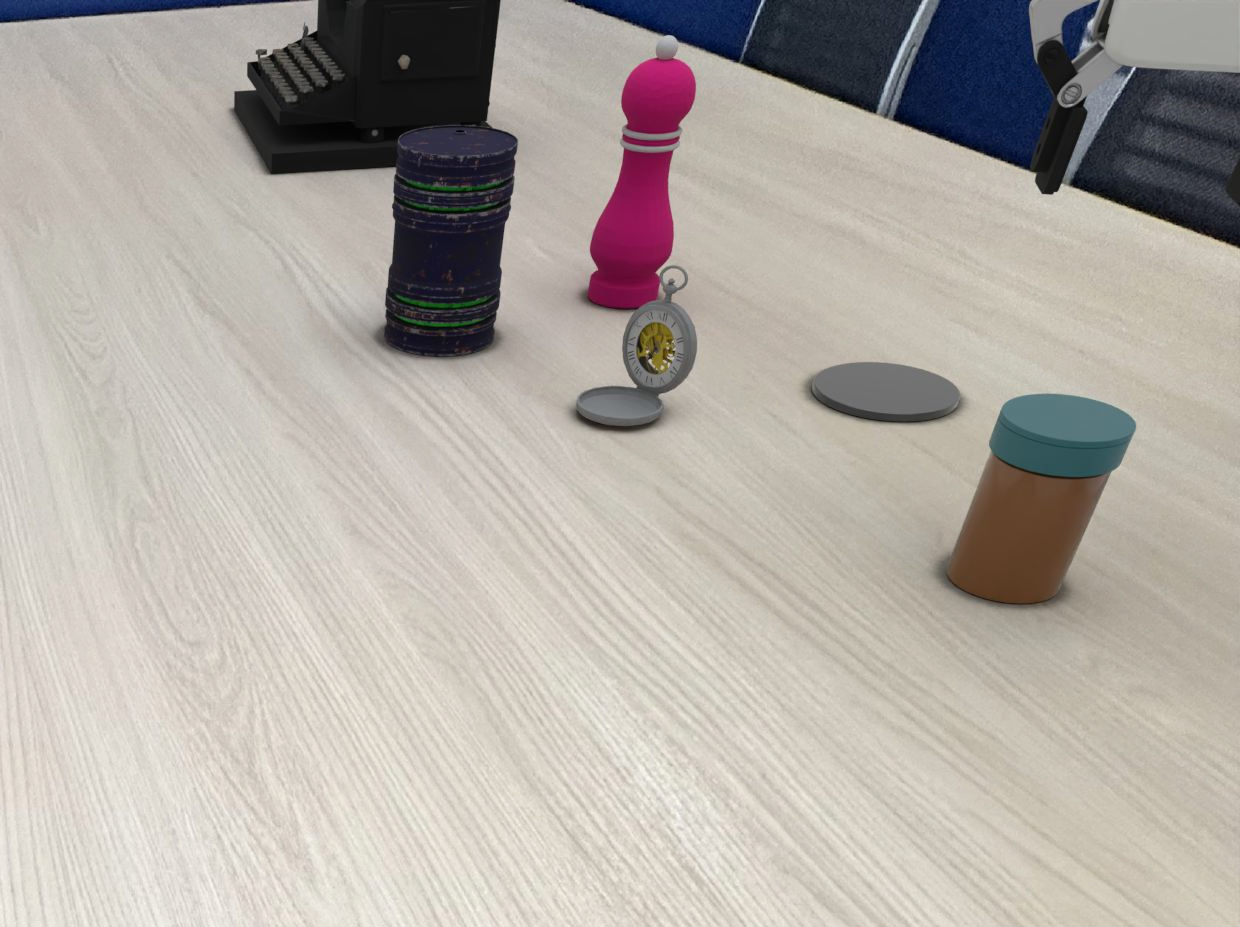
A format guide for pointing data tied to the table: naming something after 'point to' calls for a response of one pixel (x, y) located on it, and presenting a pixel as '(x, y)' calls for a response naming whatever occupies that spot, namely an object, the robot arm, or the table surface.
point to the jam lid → (1062, 435)
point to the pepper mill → (642, 183)
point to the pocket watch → (647, 362)
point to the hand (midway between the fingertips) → (1140, 194)
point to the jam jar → (1022, 532)
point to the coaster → (885, 391)
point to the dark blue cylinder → (448, 238)
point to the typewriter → (369, 81)
